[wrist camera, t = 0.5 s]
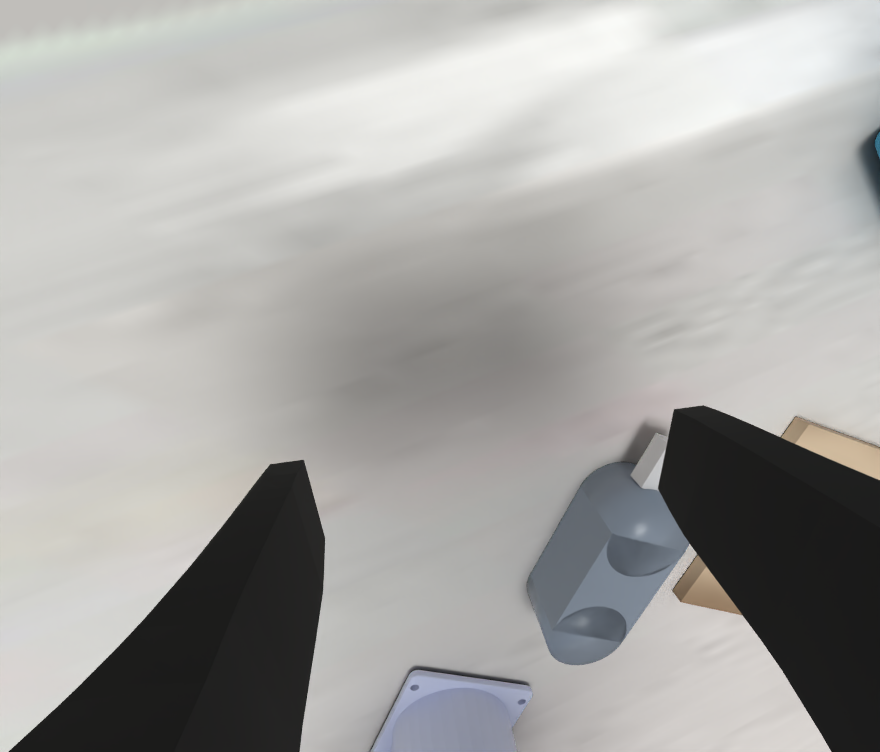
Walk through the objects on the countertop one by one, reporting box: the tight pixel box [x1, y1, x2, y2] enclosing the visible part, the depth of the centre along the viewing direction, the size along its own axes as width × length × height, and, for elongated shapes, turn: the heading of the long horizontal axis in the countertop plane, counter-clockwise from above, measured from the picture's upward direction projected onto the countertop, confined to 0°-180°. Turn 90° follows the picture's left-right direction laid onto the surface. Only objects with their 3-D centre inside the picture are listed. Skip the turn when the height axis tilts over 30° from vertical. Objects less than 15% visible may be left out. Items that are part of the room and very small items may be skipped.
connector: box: [527, 433, 689, 665], centre depth 23 cm, size 12×4×4 cm, turn 159°
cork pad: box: [673, 417, 880, 615], centre depth 27 cm, size 12×12×1 cm
